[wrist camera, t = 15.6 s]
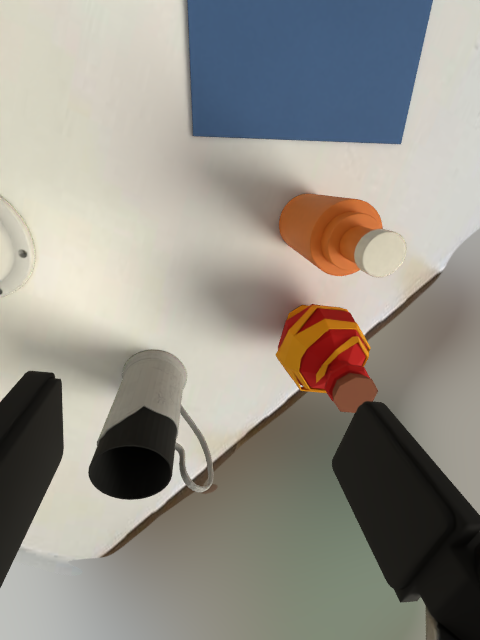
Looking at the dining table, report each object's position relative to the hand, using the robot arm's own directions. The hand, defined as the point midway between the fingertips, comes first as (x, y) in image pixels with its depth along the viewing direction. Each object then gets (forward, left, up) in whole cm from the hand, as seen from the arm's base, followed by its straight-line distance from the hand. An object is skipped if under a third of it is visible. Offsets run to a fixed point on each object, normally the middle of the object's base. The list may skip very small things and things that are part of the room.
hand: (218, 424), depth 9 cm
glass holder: (-2, -20, -28) cm, 34 cm away
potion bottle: (+14, -7, -28) cm, 32 cm away
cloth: (+5, +22, -27) cm, 35 cm away
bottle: (+10, +5, -27) cm, 30 cm away
